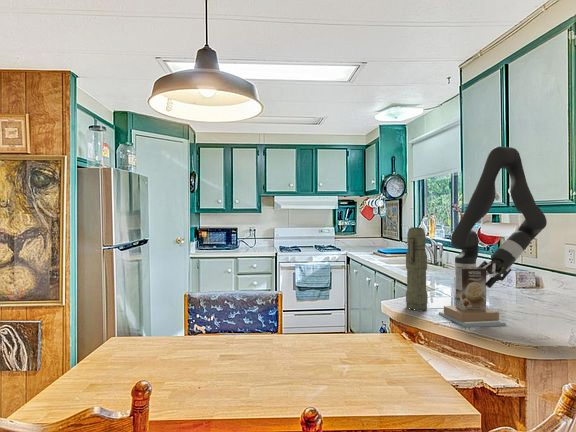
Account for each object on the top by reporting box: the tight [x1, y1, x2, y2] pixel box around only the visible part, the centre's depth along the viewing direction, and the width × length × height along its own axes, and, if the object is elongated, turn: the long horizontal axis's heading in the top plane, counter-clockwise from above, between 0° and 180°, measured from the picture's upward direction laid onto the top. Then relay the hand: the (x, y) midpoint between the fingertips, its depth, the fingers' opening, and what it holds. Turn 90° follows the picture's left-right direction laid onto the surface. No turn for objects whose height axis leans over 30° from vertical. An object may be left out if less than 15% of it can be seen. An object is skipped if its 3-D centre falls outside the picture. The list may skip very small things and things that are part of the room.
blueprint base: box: [438, 305, 507, 328], centre depth 145 cm, size 18×16×4 cm
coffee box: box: [455, 266, 487, 311], centre depth 145 cm, size 9×6×16 cm
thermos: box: [405, 226, 429, 311], centre depth 163 cm, size 9×12×35 cm
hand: (480, 284), depth 145 cm, fingers open, 8 cm apart
